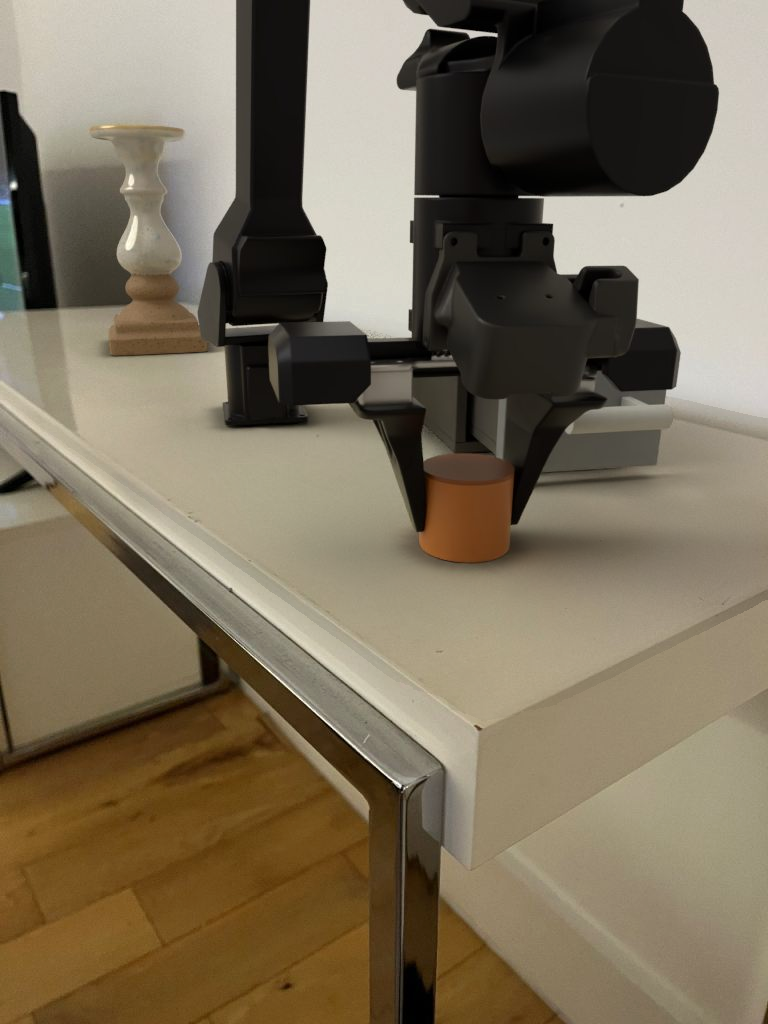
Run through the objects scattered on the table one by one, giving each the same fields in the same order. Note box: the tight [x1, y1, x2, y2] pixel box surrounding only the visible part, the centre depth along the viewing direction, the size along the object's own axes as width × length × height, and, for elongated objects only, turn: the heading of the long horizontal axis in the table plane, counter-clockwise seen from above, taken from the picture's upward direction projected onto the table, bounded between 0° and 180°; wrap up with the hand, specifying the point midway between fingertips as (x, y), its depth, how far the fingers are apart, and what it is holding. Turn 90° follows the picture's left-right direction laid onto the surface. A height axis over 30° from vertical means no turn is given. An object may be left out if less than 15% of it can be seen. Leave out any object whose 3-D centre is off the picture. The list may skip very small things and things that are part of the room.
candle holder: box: [89, 124, 209, 356], centre depth 95 cm, size 11×11×24 cm
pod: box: [418, 453, 514, 564], centre depth 41 cm, size 5×5×4 cm
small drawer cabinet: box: [413, 356, 491, 454], centre depth 63 cm, size 13×12×9 cm
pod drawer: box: [466, 371, 675, 473], centre depth 53 cm, size 16×10×7 cm, turn 12°
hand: (464, 526), depth 42 cm, fingers closed on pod, 4 cm apart
